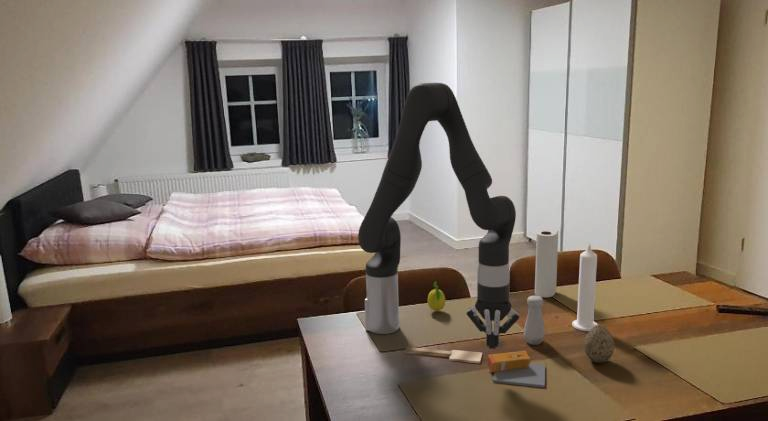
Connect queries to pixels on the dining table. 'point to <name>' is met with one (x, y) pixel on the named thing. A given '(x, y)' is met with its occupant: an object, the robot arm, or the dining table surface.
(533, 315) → the salt shaker
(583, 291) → the candle
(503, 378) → the mat
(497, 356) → the supplement box
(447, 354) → the turner
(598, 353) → the decorative egg
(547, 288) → the paper towel roll
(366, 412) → the dining table surface
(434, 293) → the lemon
